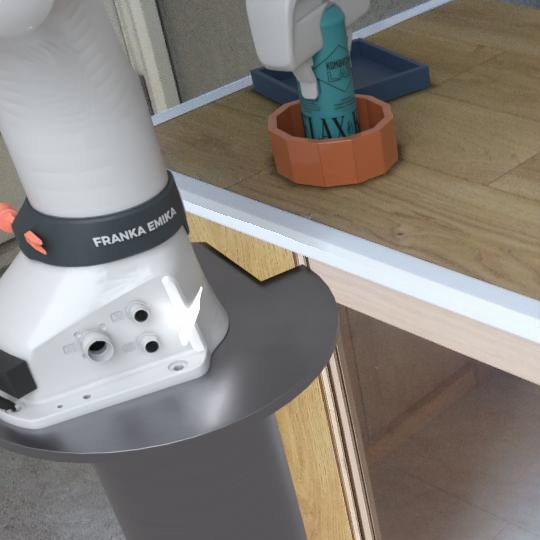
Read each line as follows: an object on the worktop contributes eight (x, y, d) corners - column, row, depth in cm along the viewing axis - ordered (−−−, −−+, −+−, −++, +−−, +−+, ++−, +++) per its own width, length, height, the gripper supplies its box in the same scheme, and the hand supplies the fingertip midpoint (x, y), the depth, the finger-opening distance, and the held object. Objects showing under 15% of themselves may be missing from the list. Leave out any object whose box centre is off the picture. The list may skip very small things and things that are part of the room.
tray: (319, 124, 123) (315, 103, 121) (254, 90, 131) (249, 70, 129) (430, 86, 131) (428, 66, 129) (362, 57, 140) (360, 37, 138)
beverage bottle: (298, 166, 114) (262, -26, 100) (328, 145, 119) (297, -43, 105) (347, 175, 112) (317, -20, 99) (375, 153, 117) (351, -37, 103)
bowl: (320, 198, 109) (312, 153, 105) (254, 159, 116) (244, 116, 112) (421, 159, 115) (416, 116, 112) (352, 125, 123) (346, 83, 119)
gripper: (320, -86, 108) (342, 48, 118) (225, -29, 94) (258, 116, 104) (373, -83, 106) (391, 52, 116) (284, -25, 93) (312, 122, 103)
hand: (328, 83), depth 110 cm, fingers open, 6 cm apart
